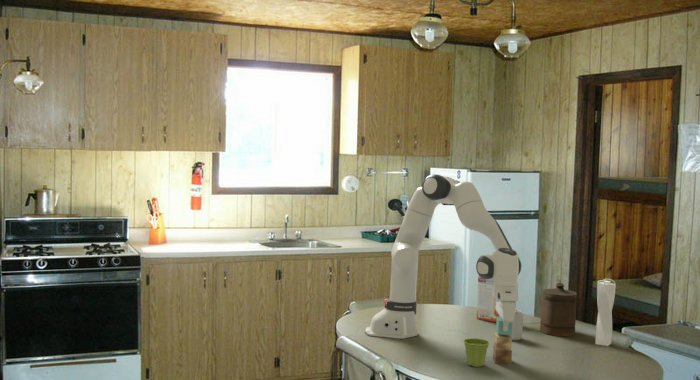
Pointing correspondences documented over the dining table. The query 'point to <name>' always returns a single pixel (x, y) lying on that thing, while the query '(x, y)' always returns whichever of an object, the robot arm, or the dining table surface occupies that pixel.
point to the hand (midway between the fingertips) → (503, 328)
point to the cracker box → (486, 301)
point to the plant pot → (476, 351)
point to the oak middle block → (502, 342)
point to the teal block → (500, 327)
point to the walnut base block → (502, 356)
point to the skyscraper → (604, 311)
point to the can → (517, 325)
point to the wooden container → (558, 311)
